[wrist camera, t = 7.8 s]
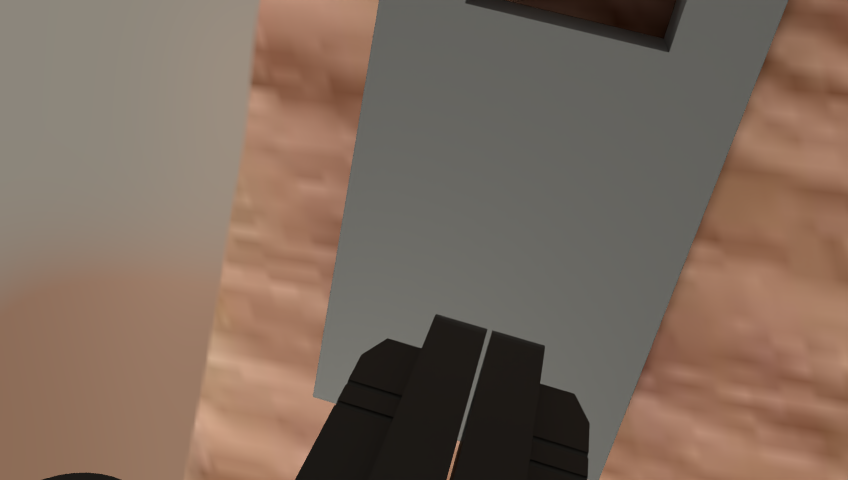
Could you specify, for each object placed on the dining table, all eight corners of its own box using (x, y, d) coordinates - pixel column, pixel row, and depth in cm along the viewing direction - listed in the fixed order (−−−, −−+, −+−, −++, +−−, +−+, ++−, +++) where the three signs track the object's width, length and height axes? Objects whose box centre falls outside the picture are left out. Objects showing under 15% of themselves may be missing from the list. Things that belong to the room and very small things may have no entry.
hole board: (869, -266, 22) (900, -283, 20) (598, 442, 33) (597, 482, 31) (456, -346, 23) (441, -371, 21) (331, 363, 35) (313, 396, 32)
